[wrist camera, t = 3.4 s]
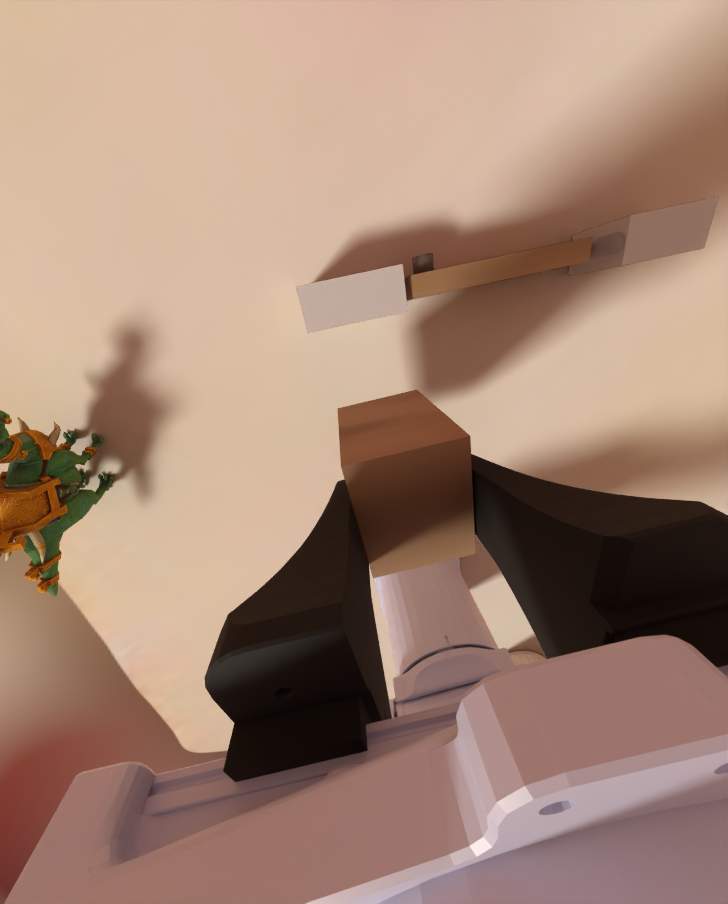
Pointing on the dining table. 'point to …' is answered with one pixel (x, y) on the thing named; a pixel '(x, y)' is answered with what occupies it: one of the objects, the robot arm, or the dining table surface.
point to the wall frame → (609, 249)
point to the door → (492, 268)
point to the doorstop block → (407, 482)
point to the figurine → (42, 496)
